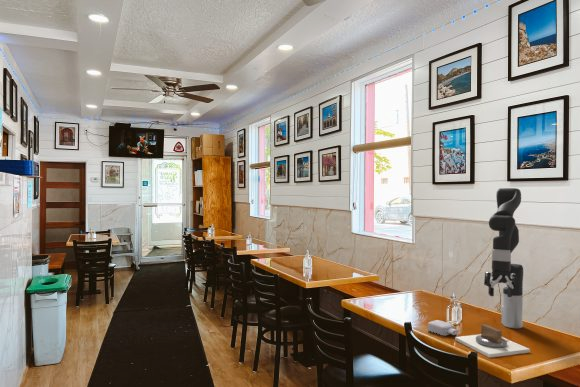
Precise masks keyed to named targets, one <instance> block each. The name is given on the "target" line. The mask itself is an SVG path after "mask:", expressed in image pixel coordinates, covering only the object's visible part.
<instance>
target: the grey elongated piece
mask: <svg viewBox="0 0 580 387" xmlns="http://www.w3.org/2000/svg"><path fill="white" fill-rule="evenodd" d="M430 331H431V332H430ZM427 332H430V333H433V332H434V333H433V334H436V333H437V334H436V335H439V334H440V335H439V336H442V335H443V336H442V337H444V336H445V337H447V336H449V335H453V336H455V335H459V334H461V332H460V331H459V330H458V329H455V325H454V324H453V323H450V322H446V321H443V320H439V319H436V320H432V321H428V323H427Z"/></svg>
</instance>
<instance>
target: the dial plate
mask: <svg viewBox="0 0 580 387" xmlns="http://www.w3.org/2000/svg"><path fill="white" fill-rule="evenodd" d="M478 335H481V333H480V334H471V335H462V336H455V337H454V339H455V342H458V343H460V344H461V345H464V346H466V347H468V348H469V349H472V350H473V351H475V352H477V353H479V354H481V355H483V356H485V357H487V358H488V359H489V358H496V357H503V356H511V355H521V354H527V353H529V354H530V353H531V350H530V348H529V347H526V346H524V345H521V344H519V343H516V342H514V341H511V340H510V339H508V338H505V337H504V336H502V338H503V339H505V340H506V341H507V346H506V347H503V348H493V347H487V346H483V345H481V344H479V343H477V342H476V336H478Z"/></svg>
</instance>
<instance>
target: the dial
mask: <svg viewBox="0 0 580 387" xmlns="http://www.w3.org/2000/svg"><path fill="white" fill-rule="evenodd" d="M480 327H481V329H480V334H481V335H479V334H477V335H478V336H476V342H477V343H479V344H481V345H483V346H487V347H493V348H503V347H506V346H507V341H506V340H505V339H506V338H505V339H503V338H504V337H503V336H502V333H503V331H502V330H500V329H498V328H496V327H493V326H491V325H488V324H486V323H485V324H481V325H480ZM502 337H503V338H502Z"/></svg>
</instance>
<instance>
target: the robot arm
mask: <svg viewBox="0 0 580 387" xmlns="http://www.w3.org/2000/svg"><path fill="white" fill-rule="evenodd" d="M521 202H522V192H521V190H520V189H519V188H515V187H514V188H513V187H511V188H509V187H508V188H505V187H504V188H502V187H501V188H500V187H499V188H498V189H497V191H496V207H497V211H496V212H494V213H493V214H492V215H491V216H490V218H489V220H488V226H489V228H490V229H491V230H492V231H495V232H498V235H496V236H494V237H493V239H492V253H491V272H489V271H485V273H484V281H483V282H484V283H483V285H484V286H486V287H488V291H487V292H488V293H487V294H488V295H489V296H490V297H494V296H495V294H494V293H495V291H494V290H495V289H494V287H495V286H496V285H497V284H501V283H502V284H504V285H506V286H504V287H503V288H502V306H501V311H500V312H501V320H500V321H501V325H502V326H504V327H506V328H509V329H510V328H511V329H522V328H523V300H524V299H523V297H524V296H523V294H524V293H523V289H524V288H523V286H524V285H523V284H524V267H523V265H522V264H520V263H519V264H517V263H511V262H512V261H511V257H512V256H511V254H512V252H513V251H514V250H515V249H516V247H518V244H519V242H520V233H519V228H518V226H517V225H516V220H515V218H514V213H515V211H516V210H517V209H518V208H519V206H520V205H521V204H522V203H521Z"/></svg>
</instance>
